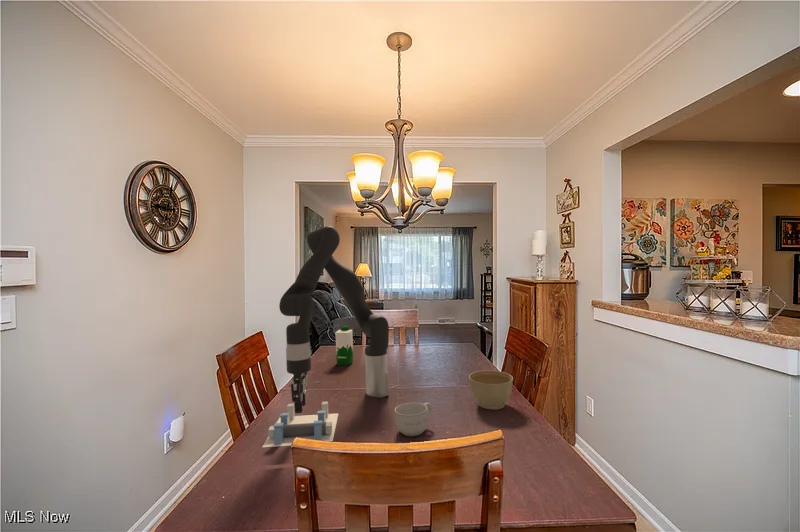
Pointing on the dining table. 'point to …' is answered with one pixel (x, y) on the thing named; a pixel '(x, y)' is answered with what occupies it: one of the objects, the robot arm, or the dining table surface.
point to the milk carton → (344, 346)
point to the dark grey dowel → (301, 429)
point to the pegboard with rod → (292, 419)
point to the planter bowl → (491, 388)
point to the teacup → (412, 418)
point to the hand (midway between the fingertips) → (300, 408)
